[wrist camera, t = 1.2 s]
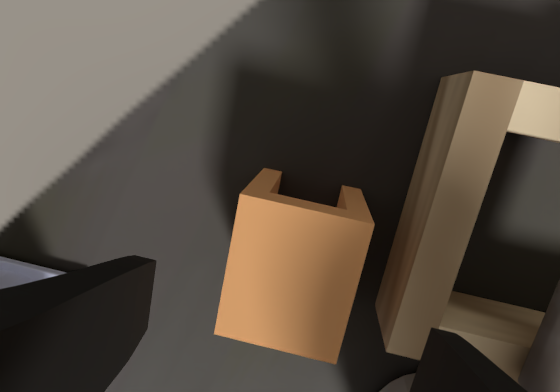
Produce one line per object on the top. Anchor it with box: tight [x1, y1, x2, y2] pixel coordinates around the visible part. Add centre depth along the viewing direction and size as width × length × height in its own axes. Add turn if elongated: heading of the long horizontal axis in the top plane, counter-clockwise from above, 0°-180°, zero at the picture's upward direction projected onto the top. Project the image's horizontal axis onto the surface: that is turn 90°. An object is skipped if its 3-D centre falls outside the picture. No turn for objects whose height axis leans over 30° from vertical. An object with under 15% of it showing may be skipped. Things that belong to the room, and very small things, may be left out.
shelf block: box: [375, 71, 560, 392], centre depth 14 cm, size 10×10×5 cm
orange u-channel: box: [214, 168, 375, 364], centre depth 15 cm, size 4×5×5 cm
